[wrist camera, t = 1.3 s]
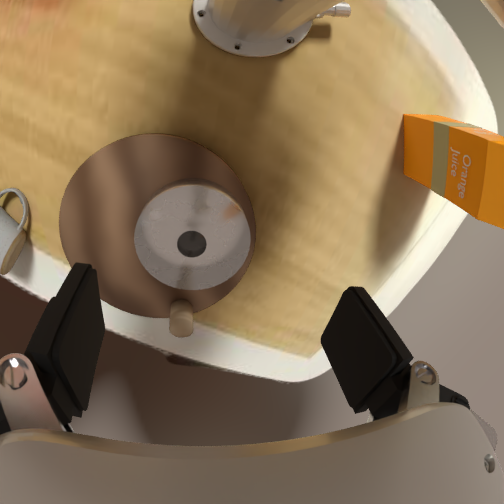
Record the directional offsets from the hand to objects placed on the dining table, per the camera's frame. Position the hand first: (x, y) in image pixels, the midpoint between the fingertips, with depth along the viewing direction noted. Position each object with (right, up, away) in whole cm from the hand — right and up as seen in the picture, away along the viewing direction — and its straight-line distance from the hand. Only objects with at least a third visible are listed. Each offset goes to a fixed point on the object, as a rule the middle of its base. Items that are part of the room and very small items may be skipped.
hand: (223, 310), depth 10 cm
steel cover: (-6, +4, +20) cm, 21 cm away
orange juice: (+25, +18, +21) cm, 37 cm away
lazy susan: (-11, +4, +22) cm, 25 cm away
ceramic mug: (-33, +7, +17) cm, 37 cm away
